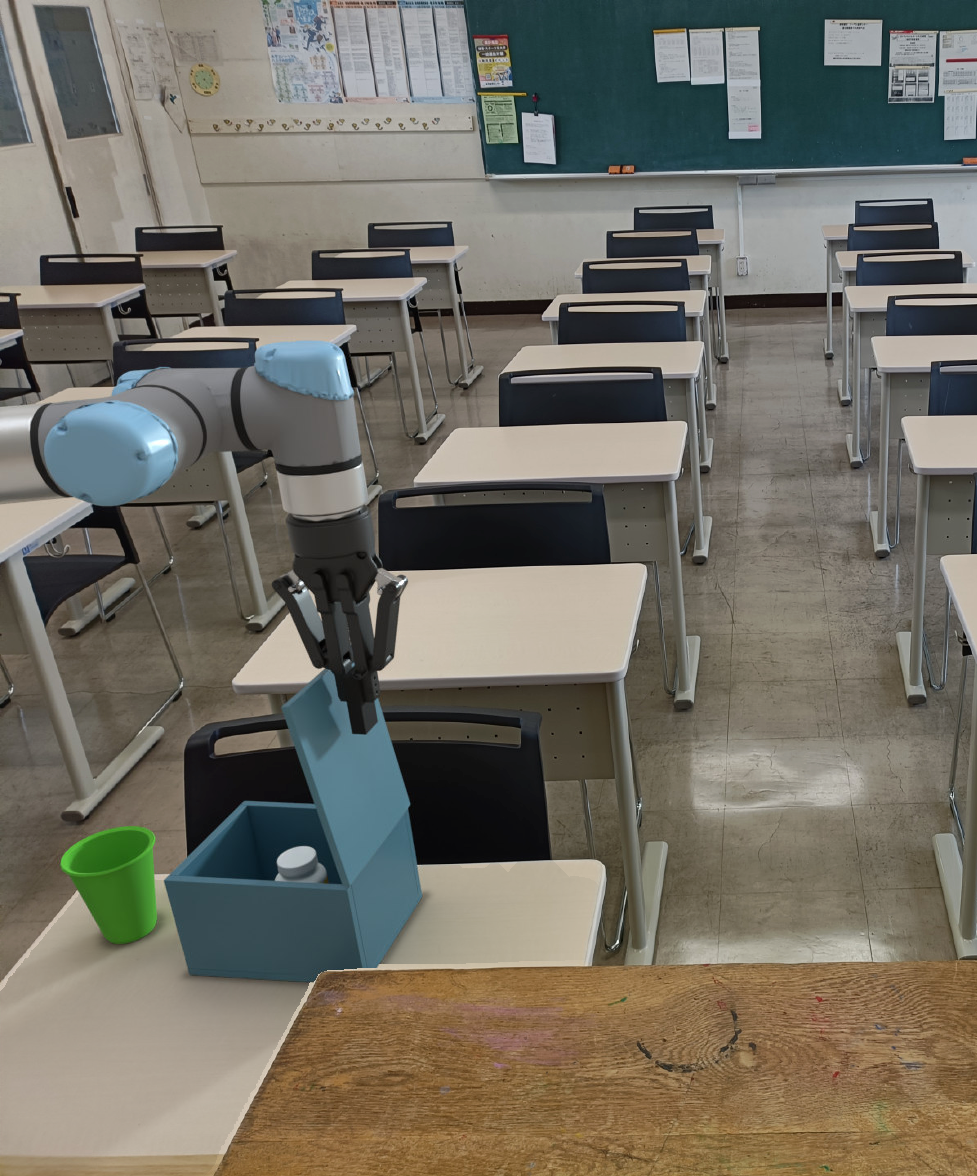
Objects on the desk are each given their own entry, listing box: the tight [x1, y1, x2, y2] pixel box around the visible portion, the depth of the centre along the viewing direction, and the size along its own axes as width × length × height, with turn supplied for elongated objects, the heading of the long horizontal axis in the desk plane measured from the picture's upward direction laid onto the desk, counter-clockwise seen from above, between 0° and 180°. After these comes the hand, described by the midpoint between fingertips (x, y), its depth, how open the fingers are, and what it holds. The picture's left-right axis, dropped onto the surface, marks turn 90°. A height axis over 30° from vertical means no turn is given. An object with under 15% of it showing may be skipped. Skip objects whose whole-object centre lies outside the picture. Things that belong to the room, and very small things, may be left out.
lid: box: [280, 653, 411, 886], centre depth 109 cm, size 21×15×1 cm
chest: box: [163, 800, 423, 983], centre depth 116 cm, size 20×15×12 cm
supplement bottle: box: [275, 846, 329, 884], centre depth 116 cm, size 5×5×10 cm
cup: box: [59, 825, 158, 945], centre depth 117 cm, size 9×9×11 cm
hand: (365, 727), depth 107 cm, fingers closed
